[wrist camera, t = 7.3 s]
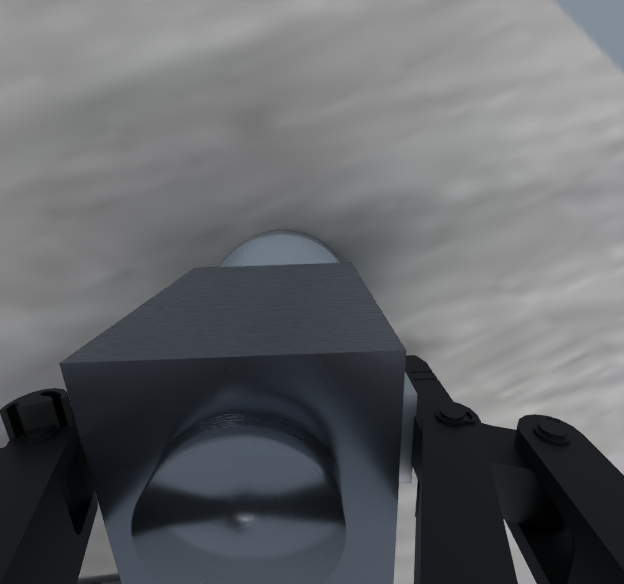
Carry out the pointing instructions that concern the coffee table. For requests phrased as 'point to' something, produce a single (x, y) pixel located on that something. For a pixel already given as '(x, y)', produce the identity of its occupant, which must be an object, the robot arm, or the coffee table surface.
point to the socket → (246, 429)
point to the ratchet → (280, 250)
